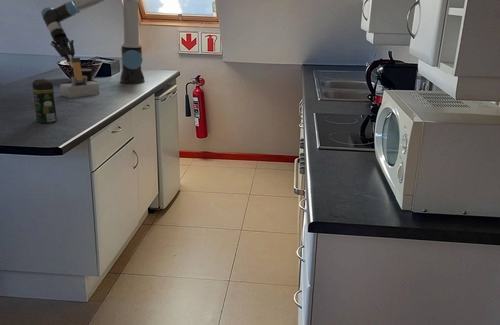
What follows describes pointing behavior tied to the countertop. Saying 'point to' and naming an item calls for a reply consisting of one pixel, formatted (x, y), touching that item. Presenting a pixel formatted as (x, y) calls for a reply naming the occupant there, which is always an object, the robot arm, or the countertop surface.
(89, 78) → the coffee mug
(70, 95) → the breaker box
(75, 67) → the lever
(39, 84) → the coffee jar
